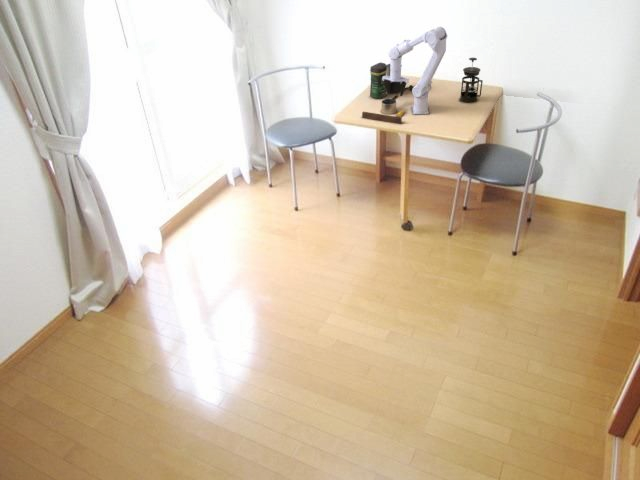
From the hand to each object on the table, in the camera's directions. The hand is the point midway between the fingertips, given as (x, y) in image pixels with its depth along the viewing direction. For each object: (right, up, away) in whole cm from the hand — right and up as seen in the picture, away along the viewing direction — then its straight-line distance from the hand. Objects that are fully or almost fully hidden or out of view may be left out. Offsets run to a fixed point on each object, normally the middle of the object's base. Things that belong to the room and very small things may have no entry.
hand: (395, 94), depth 283 cm
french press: (+42, -2, +3) cm, 42 cm away
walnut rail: (-9, -17, -10) cm, 22 cm away
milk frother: (+6, +8, +21) cm, 23 cm away
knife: (0, -14, -8) cm, 17 cm away
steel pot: (-2, -8, 0) cm, 8 cm away
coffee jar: (-7, +3, +16) cm, 18 cm away
